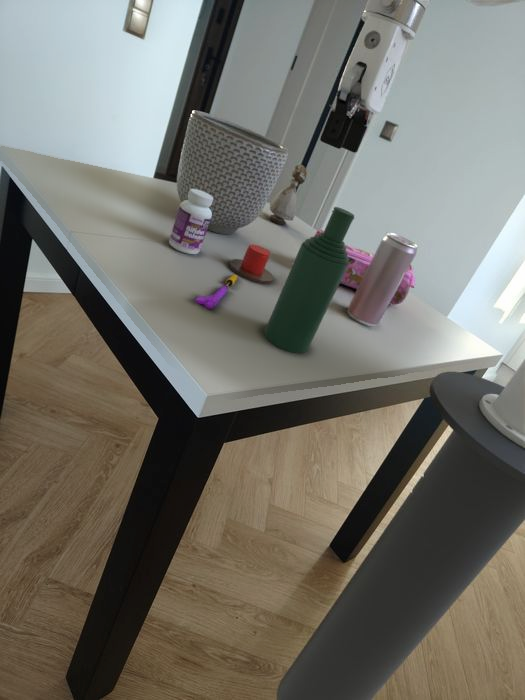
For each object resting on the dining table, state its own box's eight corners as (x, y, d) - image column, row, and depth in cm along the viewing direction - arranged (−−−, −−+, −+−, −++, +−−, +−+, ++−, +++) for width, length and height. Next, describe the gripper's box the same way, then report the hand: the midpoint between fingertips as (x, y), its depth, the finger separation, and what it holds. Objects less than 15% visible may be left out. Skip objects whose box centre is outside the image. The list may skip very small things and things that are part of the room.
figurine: (263, 213, 132) (285, 156, 126) (286, 221, 134) (309, 166, 128) (268, 222, 125) (291, 162, 119) (293, 231, 127) (317, 172, 121)
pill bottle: (181, 255, 82) (199, 198, 78) (162, 240, 85) (178, 184, 81) (205, 255, 86) (224, 201, 82) (186, 241, 89) (203, 188, 85)
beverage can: (348, 306, 92) (387, 229, 85) (378, 321, 91) (420, 244, 85) (343, 315, 86) (384, 234, 80) (375, 331, 86) (419, 250, 79)
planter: (145, 208, 97) (173, 104, 88) (188, 200, 114) (215, 113, 106) (235, 252, 94) (274, 150, 86) (266, 237, 112) (300, 151, 104)
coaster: (279, 279, 90) (280, 276, 90) (262, 287, 83) (263, 284, 83) (241, 259, 92) (242, 256, 92) (221, 265, 85) (222, 262, 85)
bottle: (313, 344, 71) (373, 220, 63) (299, 358, 65) (363, 224, 57) (274, 323, 72) (328, 199, 64) (256, 335, 67) (313, 201, 59)
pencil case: (301, 277, 97) (320, 234, 93) (299, 262, 105) (316, 222, 101) (401, 315, 100) (424, 275, 96) (392, 298, 108) (412, 260, 104)
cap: (240, 268, 85) (248, 248, 84) (241, 261, 89) (249, 242, 87) (262, 277, 86) (270, 256, 84) (262, 269, 89) (270, 250, 88)
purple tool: (213, 310, 68) (238, 279, 82) (213, 302, 67) (239, 272, 82) (193, 306, 68) (222, 276, 83) (194, 298, 68) (223, 269, 82)
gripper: (410, 5, 58) (348, 154, 66) (424, 42, 74) (373, 159, 81) (351, -15, 60) (297, 132, 67) (378, 25, 75) (331, 142, 82)
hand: (338, 147), depth 74 cm, fingers open, 9 cm apart
